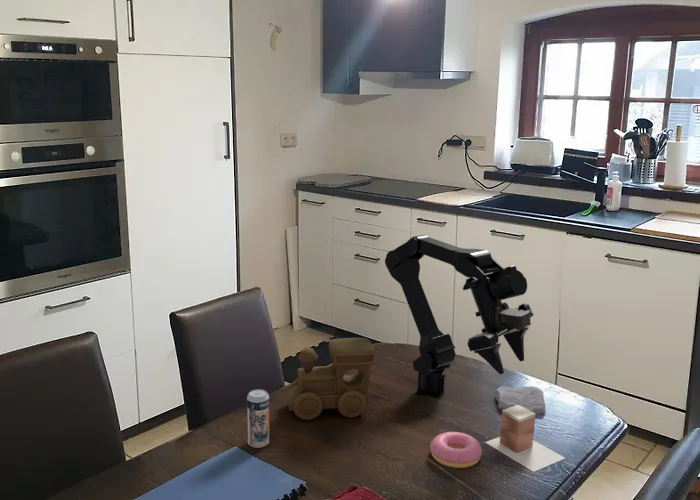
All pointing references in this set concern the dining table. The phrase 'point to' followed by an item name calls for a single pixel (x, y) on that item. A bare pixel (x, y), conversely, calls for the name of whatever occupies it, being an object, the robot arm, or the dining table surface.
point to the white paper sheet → (529, 455)
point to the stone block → (521, 398)
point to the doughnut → (456, 449)
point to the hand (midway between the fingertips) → (512, 367)
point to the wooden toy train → (333, 380)
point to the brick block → (517, 428)
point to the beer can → (258, 418)
